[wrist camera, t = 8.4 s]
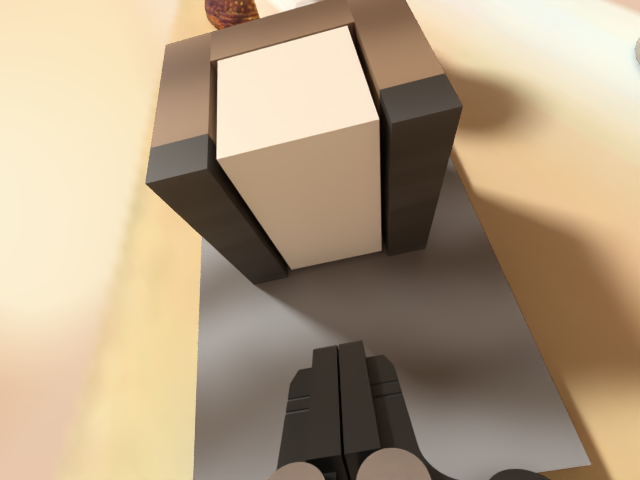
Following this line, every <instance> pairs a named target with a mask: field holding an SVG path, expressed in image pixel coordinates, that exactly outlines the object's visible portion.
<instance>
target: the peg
mask: <svg viewBox="0 0 640 480" xmlns="http://www.w3.org/2000/svg"><path fill="white" fill-rule="evenodd" d="M217 161H218V162H219V164H220V165H221V167H222V168H223V170H224V171H225V173H226V174H227V176H228V177H229V178H230V180H231V181H232V183H233V184H234V186H235V187H236V189H237V190H238V192H239V193H240V195H241V196H242V198H243V199H244V201H245V202H246V203H247V205H248V206H249V208H250V209H251V211H252V212H253V214H254V215H255V217H256V218H257V220H258V221H259V223H260V224H261V226H262V227H263V229H264V230H265V231H266V233H267V234H268V236H269V237H270V239H271V240H272V242H273V243H274V245H275V246H276V248H277V249H278V251H279V252H280V254H281V255H282V256H283V258H284V259H285V261H286V262H287V264H288V265H289V267H290V268H291V270H293V269H297V268H302V267H307V266H312V265H316V264H321V263H326V262H331V261H335V260H340V259H345V258H350V257H354V256H359V255H364V254H369V253H373V252H378V251H382V247H381V190H380V133H379V117H378V114H377V111H376V108H375V105H374V102H373V100H372V97H371V94H370V91H369V88H368V85H367V82H366V79H365V76H364V73H363V70H362V67H361V64H360V62H359V59H358V56H357V53H356V50H355V47H354V44H353V41H352V38H351V35H350V32H349V29H348V27H347V26H344V27H340V28H337V29H333V30H329V31H326V32H322V33H318V34H315V35H311V36H307V37H304V38H300V39H296V40H293V41H289V42H285V43H282V44H278V45H275V46H271V47H267V48H264V49H260V50H256V51H253V52H249V53H245V54H242V55H238V56H234V57H231V58H227V59H223V60H220V61H218V80H217Z"/></svg>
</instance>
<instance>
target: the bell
mask: <svg viewBox="0 0 640 480" xmlns="http://www.w3.org/2000/svg"><path fill="white" fill-rule="evenodd" d="M230 8H231V9H230ZM205 10H206V13H207V18H208V20H209V21H210V22H211V24H212V25H214V26H215V27H216V28H217V29H218V30H221V29H224V28H228V27H231V26H235V25H238V24H242V23H245V22H249V21H252V20H256V19H259V18H260V17H259V13H258V10H257V7H256V4H255V1H254V0H205ZM219 11H220V12H219ZM232 13H233V14H232ZM217 21H218V22H217Z"/></svg>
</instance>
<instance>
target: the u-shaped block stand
mask: <svg viewBox="0 0 640 480" xmlns="http://www.w3.org/2000/svg"><path fill="white" fill-rule="evenodd" d="M344 26H347V27H348V29H349V32H350V35H351V38H352V41H353V44H354V47H355V50H356V53H357V56H358V59H359V62H360V64H361V67H362V70H363V73H364V76H365V79H366V82H367V85H368V88H369V91H370V94H371V97H372V100H373V102H374V105H375V108H376V111H377V114H378V117H379V133H380V190H381V247H382V251H378V252H373V253H369V254H364V255H359V256H354V257H350V258H345V259H340V260H335V261H331V262H326V263H321V264H316V265H312V266H307V267H302V268H297V269H293V270H291V268H290V267H289V265H288V264H287V262H286V261H285V259H284V258H283V256H282V255H281V254H280V252H279V251H278V249H277V248H276V246H275V245H274V243H273V242H272V240H271V239H270V237H269V236H268V234H267V233H266V231H265V230H264V229H263V227H262V226H261V224H260V223H259V221H258V220H257V218H256V217H255V215H254V214H253V212H252V211H251V209H250V208H249V206H248V205H247V203H246V202H245V201H244V199H243V198H242V196H241V195H240V193H239V192H238V190H237V189H236V187H235V186H234V184H233V183H232V181H231V180H230V178H229V177H228V176H227V174H226V173H225V171H224V170H223V168H222V167H221V165H220V164H219V162H218V161H217V80H218V61H220V60H223V59H227V58H231V57H234V56H238V55H242V54H245V53H249V52H253V51H256V50H260V49H264V48H267V47H271V46H275V45H278V44H282V43H285V42H289V41H293V40H296V39H300V38H304V37H307V36H311V35H315V34H318V33H322V32H326V31H329V30H333V29H337V28H340V27H344ZM462 107H463V106H462V104H461V102H460V100H459V98H458V96H457V94H456V93H455V91H454V89H453V87H452V85H451V83H450V82H449V80H448V78H447V76H446V74H445V72H444V70H443V69H442V67H441V65H440V63H439V61H438V59H437V57H436V56H435V54H434V52H433V50H432V48H431V46H430V45H429V43H428V41H427V39H426V37H425V35H424V33H423V32H422V30H421V28H420V26H419V24H418V22H417V20H416V19H415V17H414V15H413V13H412V11H411V9H410V8H409V6H408V4H407V2H406V0H323V1H320V2H316V3H312V4H309V5H305V6H302V7H298V8H295V9H291V10H288V11H284V12H281V13H277V14H274V15H270V16H267V17H263V18H259V19H256V20H252V21H249V22H245V23H242V24H238V25H235V26H231V27H228V28H224V29H221V30H217V31H213V32H210V33H206V34H203V35H199V36H196V37H192V38H189V39H185V40H182V41H178V42H175V43H171V44H168V45H166V48H165V54H164V61H163V68H162V75H161V81H160V88H159V95H158V102H157V108H156V115H155V122H154V129H153V135H152V142H151V149H150V156H149V162H148V169H147V176H146V183H145V184H146V185H147V186H148V187H149V188H151V189H152V190H153V191H154V192H155V193H156V194H157V195H158V196H159V197H160V198H161V199H162V200H163V201H165V202H166V203H167V204H168V205H169V206H170V207H171V208H172V209H173V210H174V211H175V212H176V213H177V214H178V215H180V216H181V217H182V218H183V219H184V220H185V221H186V222H187V223H188V224H189V225H190V226H191V227H192V228H193V229H195V230H196V231H197V232H198V233H199V234H200V235H201V236H202V251H201V279H200V306H199V334H198V362H197V390H196V418H195V445H194V473H193V480H268V478H269V477H270V476H271V475H272V474H273V473H274V472H275V471H276V469H277V464H278V457H279V451H280V445H281V438H282V432H283V425H284V419H285V415H286V406H287V402H288V393H289V387H290V383H291V381H292V380H293V378H294V377H295V375H296V373H297V372H298V370H300V369H306V368H311V367H312V357H313V349H317V348H323V347H328V346H334V345H337V346H338V349H339V344H344V343H349V342H355V341H360V340H362V342H363V346H364V350H365V355H366V357H372V356H377V355H384V356H385V357H386V358H387V359H388V360H389V361H390V362H391V363H392V364H393V365H394V367H395V370H396V373H397V377H398V380H399V383H400V387H401V390H402V394H403V397H404V400H405V403H406V407H407V410H408V413H409V417H410V420H411V423H412V427H413V430H414V433H415V437H416V440H417V443H418V446H419V449H420V451H421V453H422V455H423V456H424V458H425V459H426V460H427V461H428V463H429V464H431V465H432V466H433V467H434V468H435V469H436V470H438V471H439V472H441V473H443V474H444V475H446V476H449V477H451V478H454V479H458V480H489V479H490V478H491V477H492V476H493V475H495V474H496V473H498V472H500V471H503V470H507V469H524V470H529V471H532V472H535V473H538V472H545V471H552V470H559V469H566V468H573V467H580V466H587V465H591V462H590V460H589V458H588V456H587V454H586V452H585V449H584V447H583V445H582V443H581V441H580V438H579V436H578V434H577V432H576V430H575V428H574V425H573V423H572V421H571V419H570V417H569V415H568V412H567V410H566V408H565V406H564V404H563V401H562V399H561V397H560V395H559V393H558V391H557V388H556V386H555V384H554V382H553V380H552V378H551V375H550V373H549V371H548V369H547V367H546V364H545V362H544V360H543V358H542V356H541V354H540V351H539V349H538V347H537V345H536V343H535V341H534V338H533V336H532V334H531V332H530V330H529V327H528V325H527V323H526V321H525V319H524V317H523V314H522V312H521V310H520V308H519V306H518V304H517V301H516V299H515V297H514V295H513V293H512V290H511V288H510V286H509V284H508V282H507V280H506V277H505V275H504V273H503V271H502V269H501V267H500V264H499V262H498V260H497V258H496V256H495V253H494V251H493V249H492V247H491V245H490V243H489V240H488V238H487V236H486V234H485V232H484V230H483V227H482V225H481V223H480V221H479V219H478V216H477V214H476V212H475V210H474V208H473V206H472V203H471V201H470V199H469V197H468V195H467V193H466V190H465V188H464V186H463V184H462V182H461V179H460V177H459V175H458V173H457V171H456V169H455V166H454V164H453V162H452V160H451V158H450V153H451V149H452V145H453V142H454V138H455V134H456V130H457V126H458V122H459V119H460V115H461V111H462Z"/></svg>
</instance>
